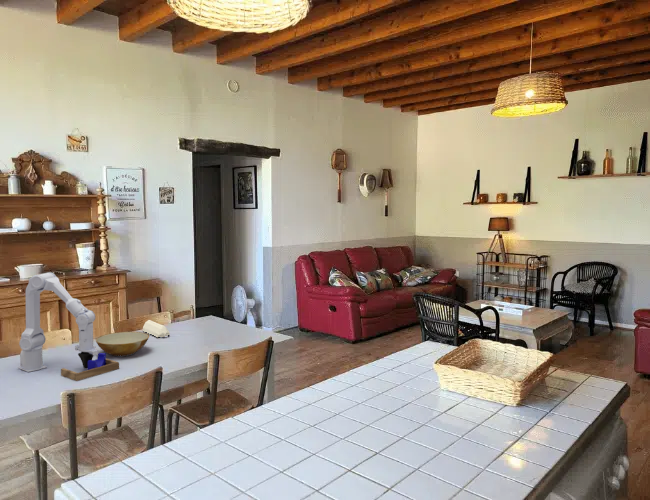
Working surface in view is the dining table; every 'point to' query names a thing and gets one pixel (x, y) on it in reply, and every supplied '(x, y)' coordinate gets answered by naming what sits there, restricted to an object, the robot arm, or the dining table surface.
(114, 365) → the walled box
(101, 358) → the blue cradle block
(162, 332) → the crystal
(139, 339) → the bowl
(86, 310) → the robot arm
